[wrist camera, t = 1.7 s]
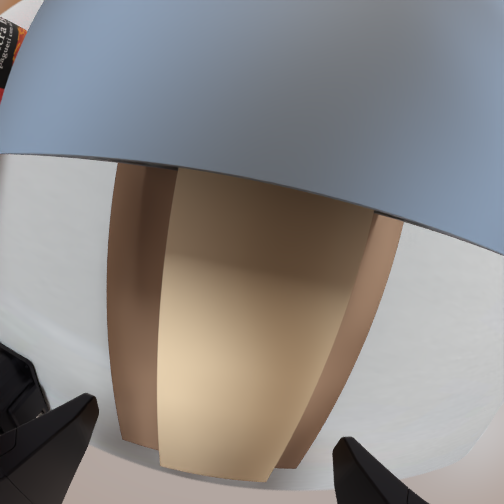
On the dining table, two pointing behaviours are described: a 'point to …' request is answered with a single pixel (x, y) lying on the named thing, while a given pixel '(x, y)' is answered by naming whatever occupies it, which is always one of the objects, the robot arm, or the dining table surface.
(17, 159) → the dining table surface
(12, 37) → the canned food
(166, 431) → the beech bar
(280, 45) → the track
